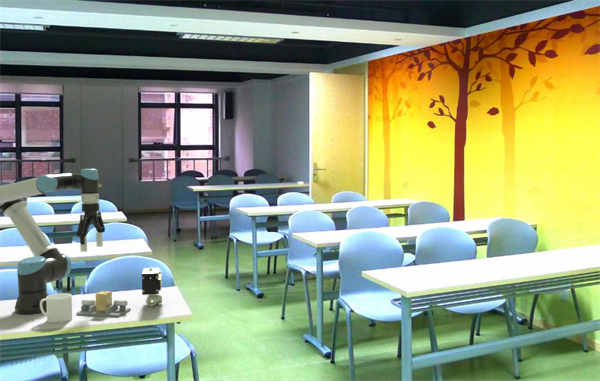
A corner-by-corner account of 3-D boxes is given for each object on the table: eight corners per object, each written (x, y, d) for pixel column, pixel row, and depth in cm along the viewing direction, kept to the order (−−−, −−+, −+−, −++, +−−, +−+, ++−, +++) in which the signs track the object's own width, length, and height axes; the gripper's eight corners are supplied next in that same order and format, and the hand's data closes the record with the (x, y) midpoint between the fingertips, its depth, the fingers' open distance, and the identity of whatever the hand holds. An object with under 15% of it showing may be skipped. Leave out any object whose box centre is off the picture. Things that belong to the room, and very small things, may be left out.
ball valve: (161, 309, 266) (160, 270, 265) (142, 310, 264) (141, 271, 263) (163, 299, 284) (162, 262, 282) (145, 300, 282) (144, 263, 281)
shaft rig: (76, 315, 258) (75, 302, 257) (89, 308, 269) (89, 296, 268) (118, 317, 254) (118, 304, 254) (130, 310, 265) (130, 298, 264)
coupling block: (96, 311, 259) (95, 293, 259) (101, 308, 264) (101, 291, 264) (106, 312, 258) (106, 294, 258) (112, 309, 263) (111, 291, 263)
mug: (70, 315, 258) (69, 292, 257) (74, 321, 249) (73, 297, 248) (39, 319, 252) (38, 295, 251) (41, 325, 243) (40, 301, 242)
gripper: (83, 205, 256) (84, 253, 257) (111, 200, 280) (113, 244, 282) (67, 205, 257) (69, 253, 259) (97, 200, 281) (98, 244, 283)
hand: (91, 249), depth 270 cm, fingers open, 13 cm apart
